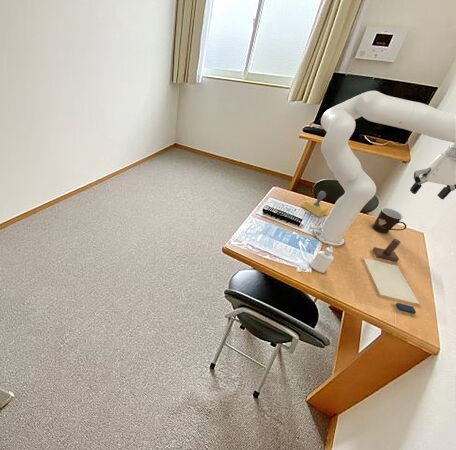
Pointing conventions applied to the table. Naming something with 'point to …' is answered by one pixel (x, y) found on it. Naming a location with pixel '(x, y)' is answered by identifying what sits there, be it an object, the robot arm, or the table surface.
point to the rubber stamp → (316, 205)
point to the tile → (390, 281)
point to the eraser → (405, 308)
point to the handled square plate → (388, 251)
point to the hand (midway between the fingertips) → (426, 194)
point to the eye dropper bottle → (322, 260)
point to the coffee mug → (387, 220)
